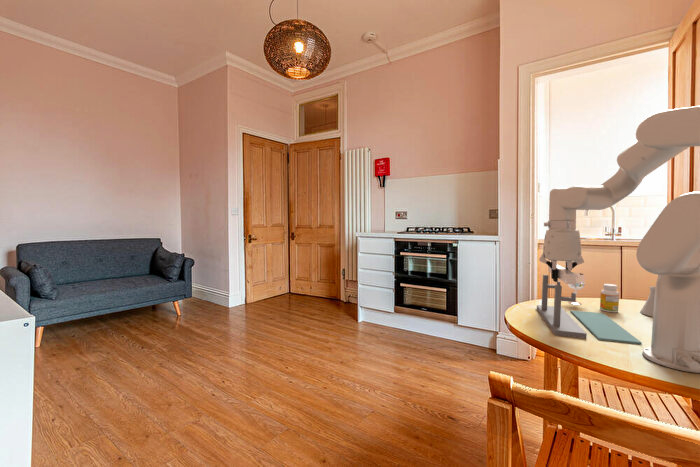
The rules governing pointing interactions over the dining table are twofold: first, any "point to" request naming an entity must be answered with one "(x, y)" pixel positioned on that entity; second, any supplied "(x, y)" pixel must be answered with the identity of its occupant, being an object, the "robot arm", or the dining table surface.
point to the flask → (649, 303)
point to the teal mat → (604, 327)
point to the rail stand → (558, 312)
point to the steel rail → (565, 275)
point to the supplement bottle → (609, 298)
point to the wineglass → (577, 285)
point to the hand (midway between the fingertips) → (560, 281)
